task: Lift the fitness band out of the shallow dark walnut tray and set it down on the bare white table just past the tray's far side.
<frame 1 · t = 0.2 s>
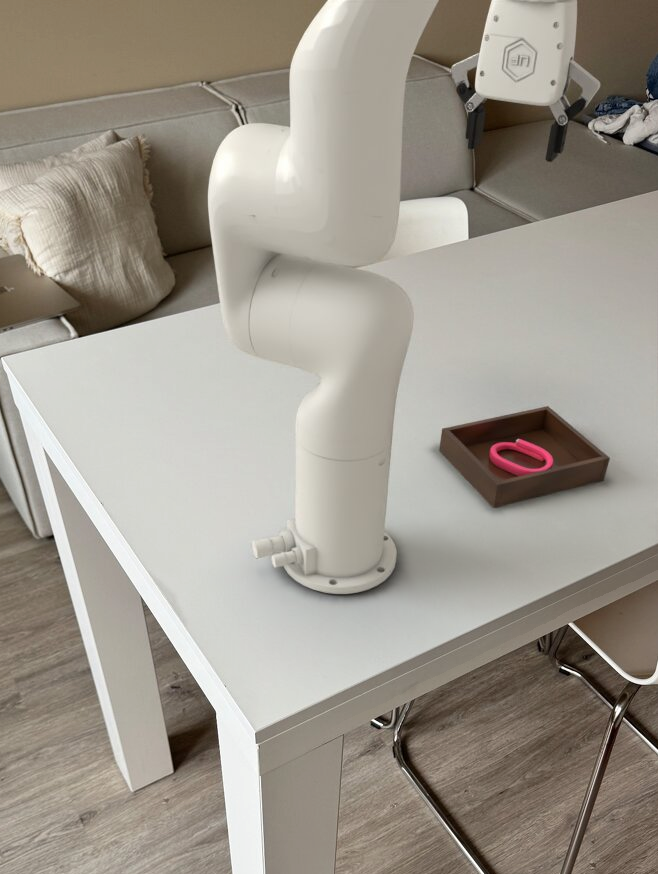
hand: (512, 152, 107), 31 cm above the table, tool pointing down, fingers open, 9 cm apart
walnut tray: (519, 465, 112), on the table
fitness band: (520, 464, 112), resting on walnut tray
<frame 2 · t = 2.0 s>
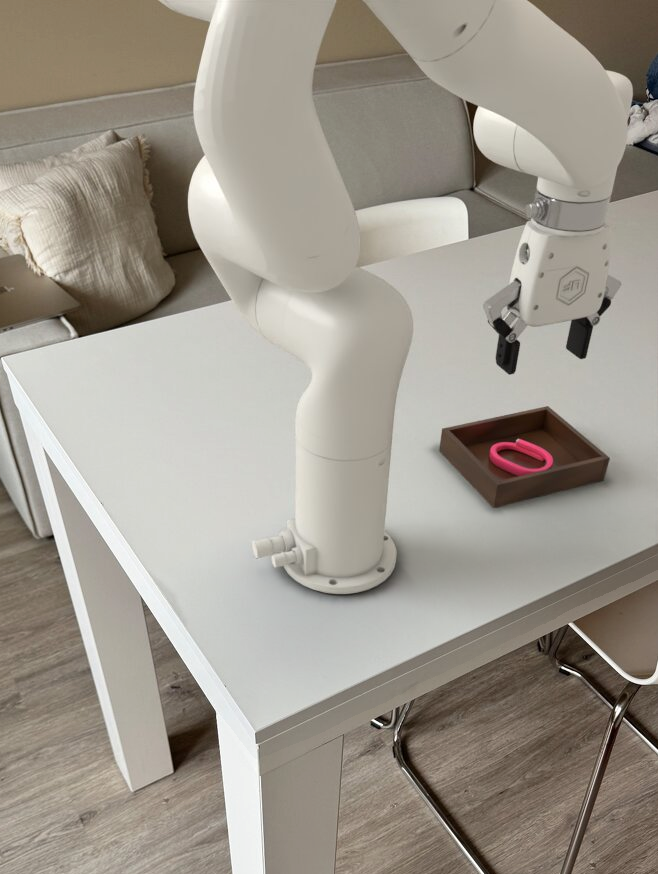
hand: (540, 361, 103), 14 cm above the table, tool pointing down, fingers open, 9 cm apart
nothing on the table moved.
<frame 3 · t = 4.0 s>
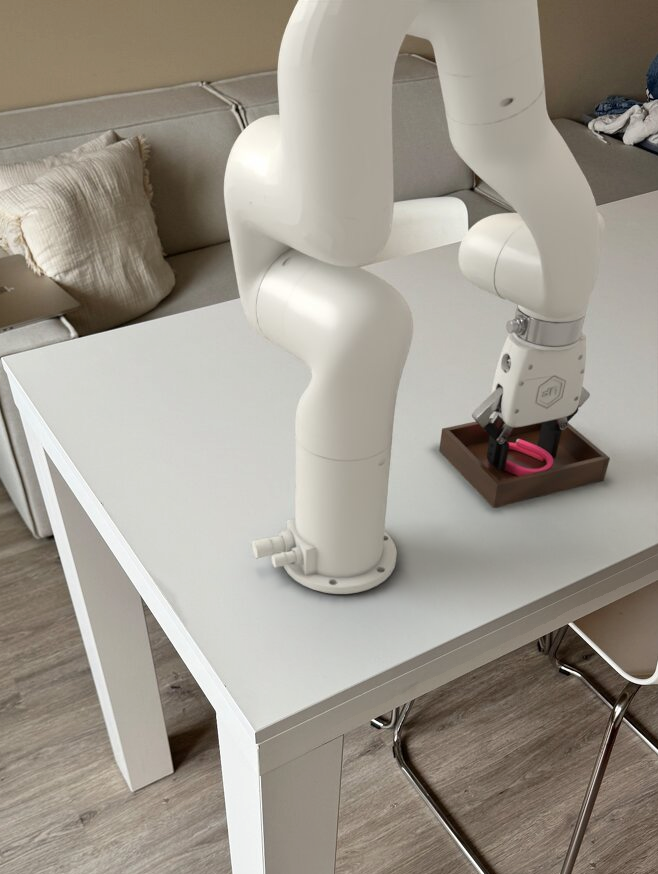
hand: (521, 458, 111), 1 cm above the table, tool pointing down, fingers closed on fitness band, 6 cm apart
fitness band: (520, 464, 112), resting on walnut tray, touching gripper
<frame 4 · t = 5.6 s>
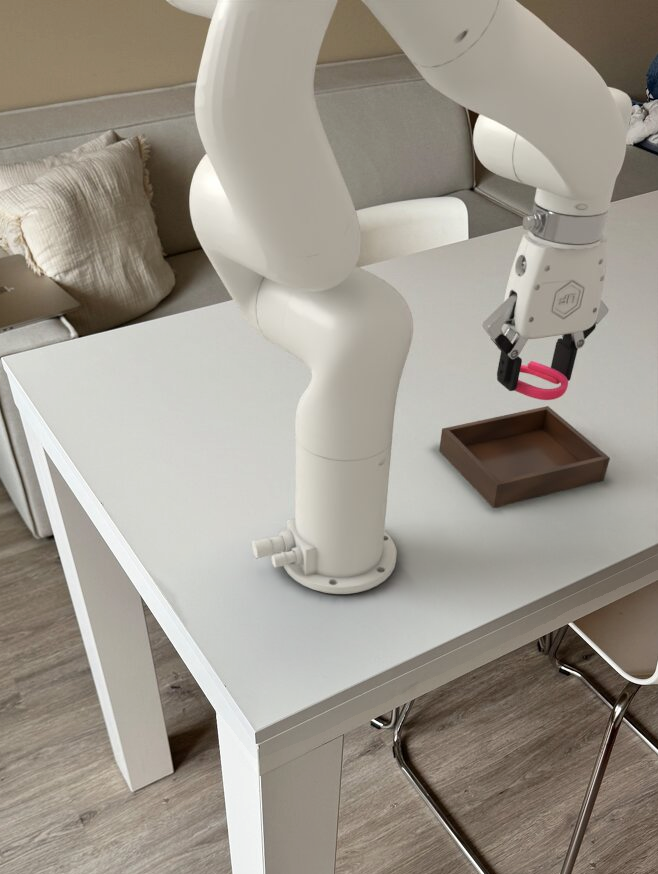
hand: (533, 379, 104), 12 cm above the table, tool pointing down, fingers closed on fitness band, 6 cm apart
fitness band: (532, 387, 104), point 11 cm above the table, touching gripper
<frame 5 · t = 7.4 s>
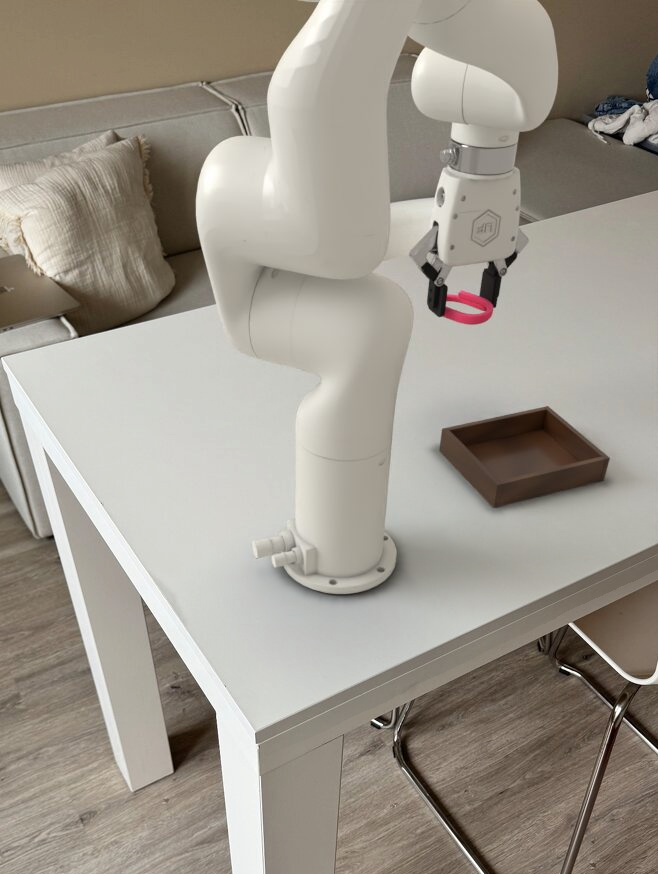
hand: (462, 307, 112), 15 cm above the table, tool pointing down, fingers closed on fitness band, 6 cm apart
fitness band: (461, 314, 113), point 14 cm above the table, touching gripper
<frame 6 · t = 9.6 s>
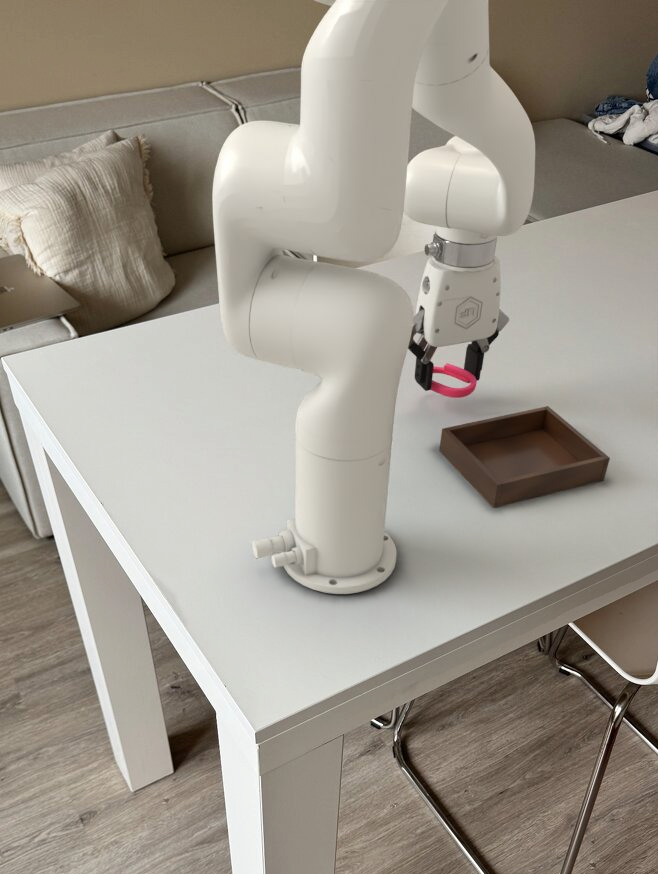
hand: (447, 380, 120), 4 cm above the table, tool pointing down, fingers closed on fitness band, 6 cm apart
fitness band: (446, 386, 121), point 3 cm above the table, touching gripper
when the fingers open (1 cm above the table, at t = 11.0 s): fitness band stays where it is, on the table.
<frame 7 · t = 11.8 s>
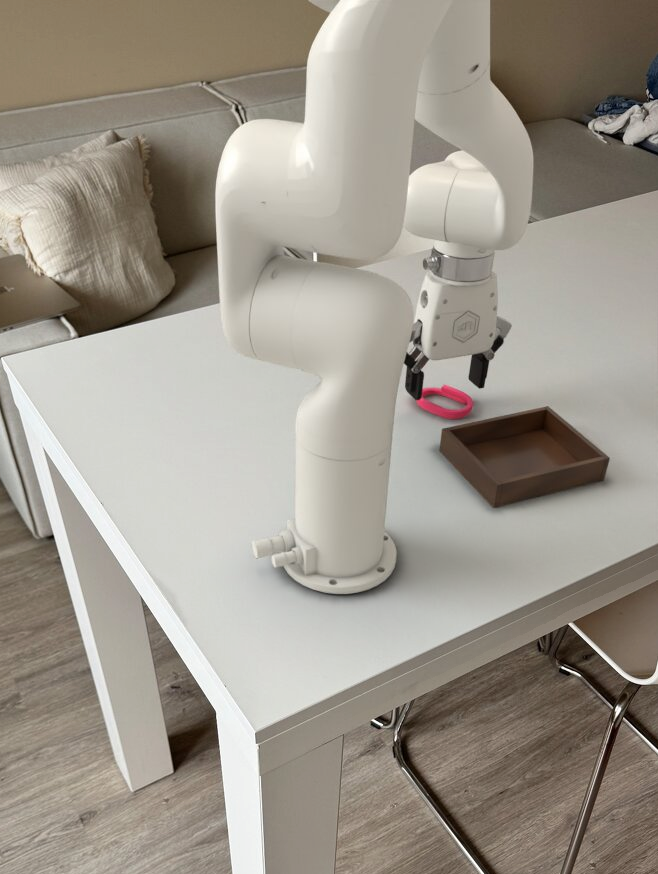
hand: (445, 389, 120), 3 cm above the table, tool pointing down, fingers open, 9 cm apart
fitness band: (444, 407, 123), on the table
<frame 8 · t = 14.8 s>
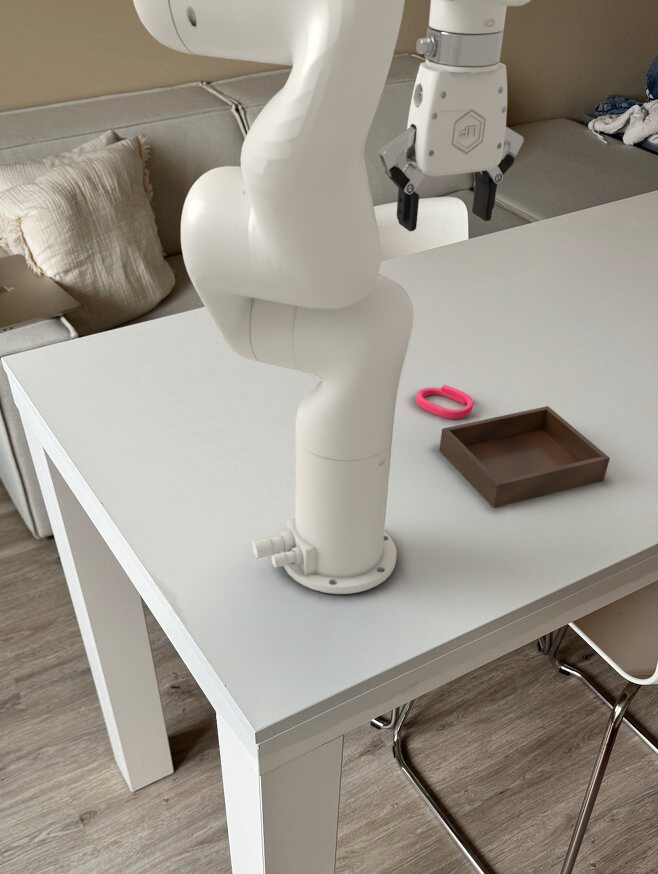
hand: (444, 222, 102), 26 cm above the table, tool pointing down, fingers open, 9 cm apart
nothing on the table moved.
at the end: fitness band inside the target area (0.0 cm from its centre), on the table; fitness band touching table; the gripper is holding nothing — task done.
